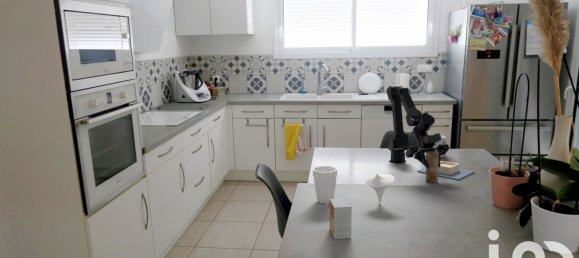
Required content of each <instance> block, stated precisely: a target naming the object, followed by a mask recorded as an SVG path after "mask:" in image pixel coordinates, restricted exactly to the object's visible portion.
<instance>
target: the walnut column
mask: <svg viewBox="0 0 579 258" xmlns="http://www.w3.org/2000/svg"><path fill="white" fill-rule="evenodd" d="M425 158H426V160H427V162H428V165H429V168H426V174H425V182H427V183H432V184H433V183H434V184H435V183H438V182H439V180H438V179H439V176H438V161H439V152H437V151H427V157H425Z"/></svg>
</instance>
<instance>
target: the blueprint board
mask: <svg viewBox="0 0 579 258" xmlns="http://www.w3.org/2000/svg"><path fill="white" fill-rule="evenodd" d="M417 173H422V174H425V175H426V167H425V166H424V167H423V168H421V169H418V170H417ZM474 173H475V171H473V170H469V169H464V168H460V163H455V162H450V161H447V160H446V161H445V160H444V161H443V160H440V167H438V177H440V178H445V179H449V180H456V181H461V180H462V179H464V178H466V177H469V176H470V175H472V174H474Z"/></svg>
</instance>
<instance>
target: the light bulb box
mask: <svg viewBox="0 0 579 258" xmlns="http://www.w3.org/2000/svg"><path fill="white" fill-rule="evenodd" d="M440 135H441V140H440V141H438V142H436V143H435V146H433V148H436V147H438V145H439V144H447V136H445V135H444V134H443V135H442V134H440ZM426 156H427V153H425V157H426ZM446 157H447V153H446V154H445V155H441V156H440V158H446Z"/></svg>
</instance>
